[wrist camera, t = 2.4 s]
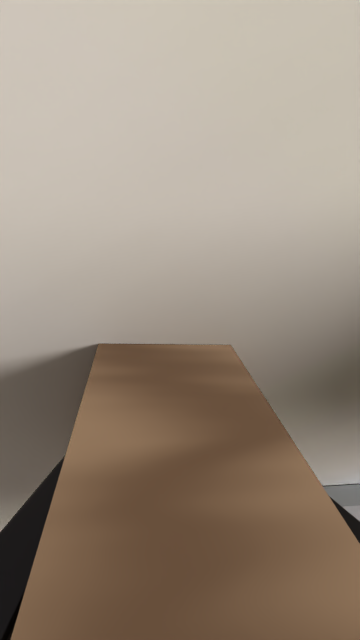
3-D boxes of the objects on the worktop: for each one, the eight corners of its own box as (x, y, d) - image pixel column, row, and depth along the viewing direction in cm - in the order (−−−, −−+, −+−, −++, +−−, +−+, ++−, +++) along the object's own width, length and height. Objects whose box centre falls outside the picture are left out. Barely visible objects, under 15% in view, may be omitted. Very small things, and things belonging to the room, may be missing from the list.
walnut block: (230, 344, 10) (620, 945, 2) (215, 445, 12) (394, 1009, 4) (98, 343, 10) (-167, 1238, 1) (101, 450, 11) (-8, 1153, 3)
